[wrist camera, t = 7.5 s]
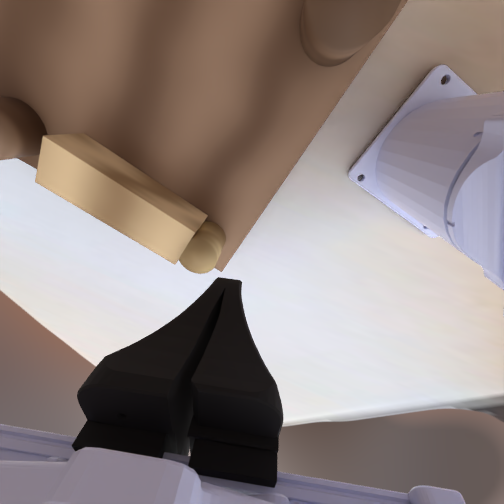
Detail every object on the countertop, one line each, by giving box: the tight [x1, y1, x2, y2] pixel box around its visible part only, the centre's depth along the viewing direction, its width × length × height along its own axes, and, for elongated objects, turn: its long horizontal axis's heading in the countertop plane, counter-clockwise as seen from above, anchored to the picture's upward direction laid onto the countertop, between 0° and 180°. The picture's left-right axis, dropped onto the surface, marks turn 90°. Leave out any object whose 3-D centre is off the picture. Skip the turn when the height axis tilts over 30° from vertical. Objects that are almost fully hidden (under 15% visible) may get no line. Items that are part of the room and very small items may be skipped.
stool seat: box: [0, 0, 408, 272], centre depth 14 cm, size 20×20×6 cm
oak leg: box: [35, 133, 226, 274], centre depth 17 cm, size 12×3×3 cm, turn 55°
